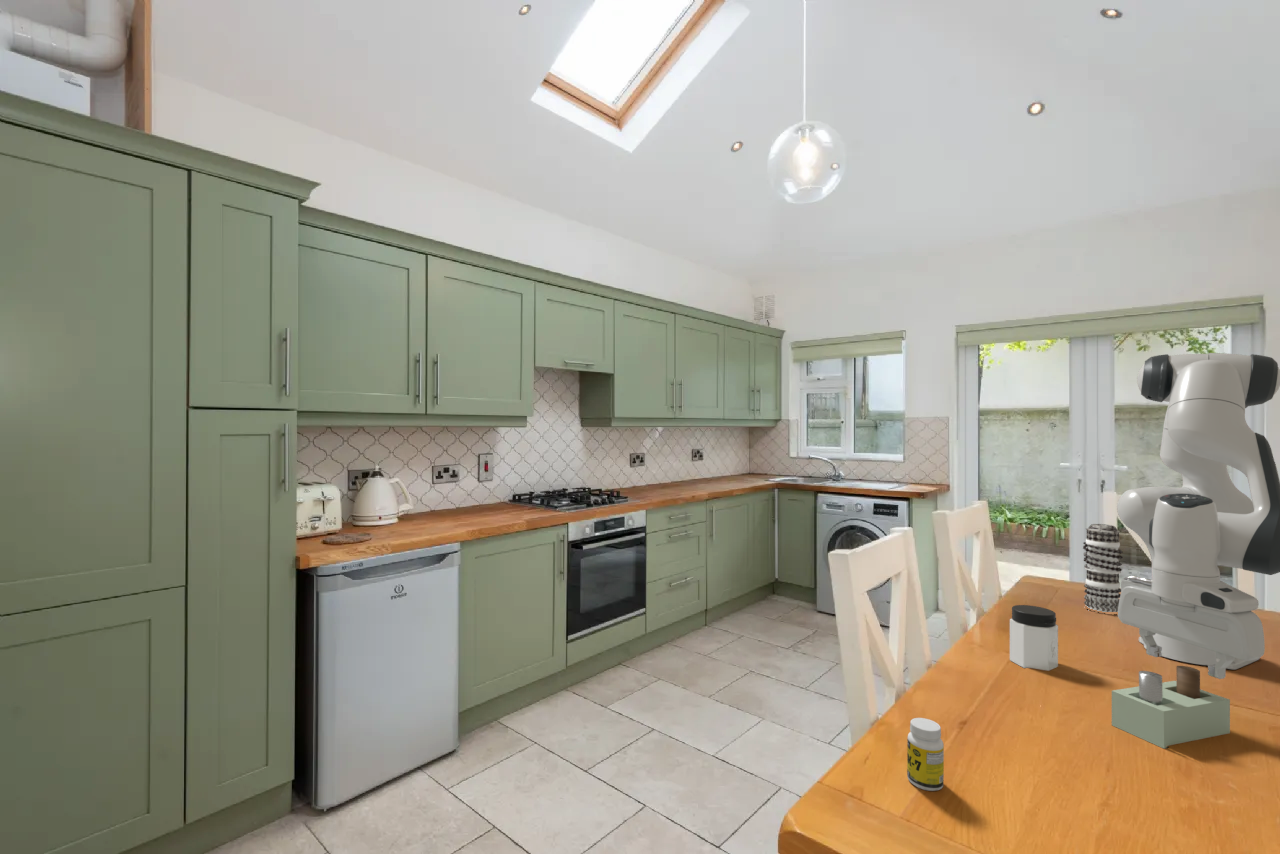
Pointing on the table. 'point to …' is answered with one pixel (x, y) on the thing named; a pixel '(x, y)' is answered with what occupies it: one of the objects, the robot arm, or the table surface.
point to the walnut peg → (1188, 681)
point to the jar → (1034, 637)
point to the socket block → (1170, 715)
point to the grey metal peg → (1150, 687)
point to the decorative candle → (1102, 568)
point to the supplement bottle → (925, 755)
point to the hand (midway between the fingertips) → (1183, 665)
